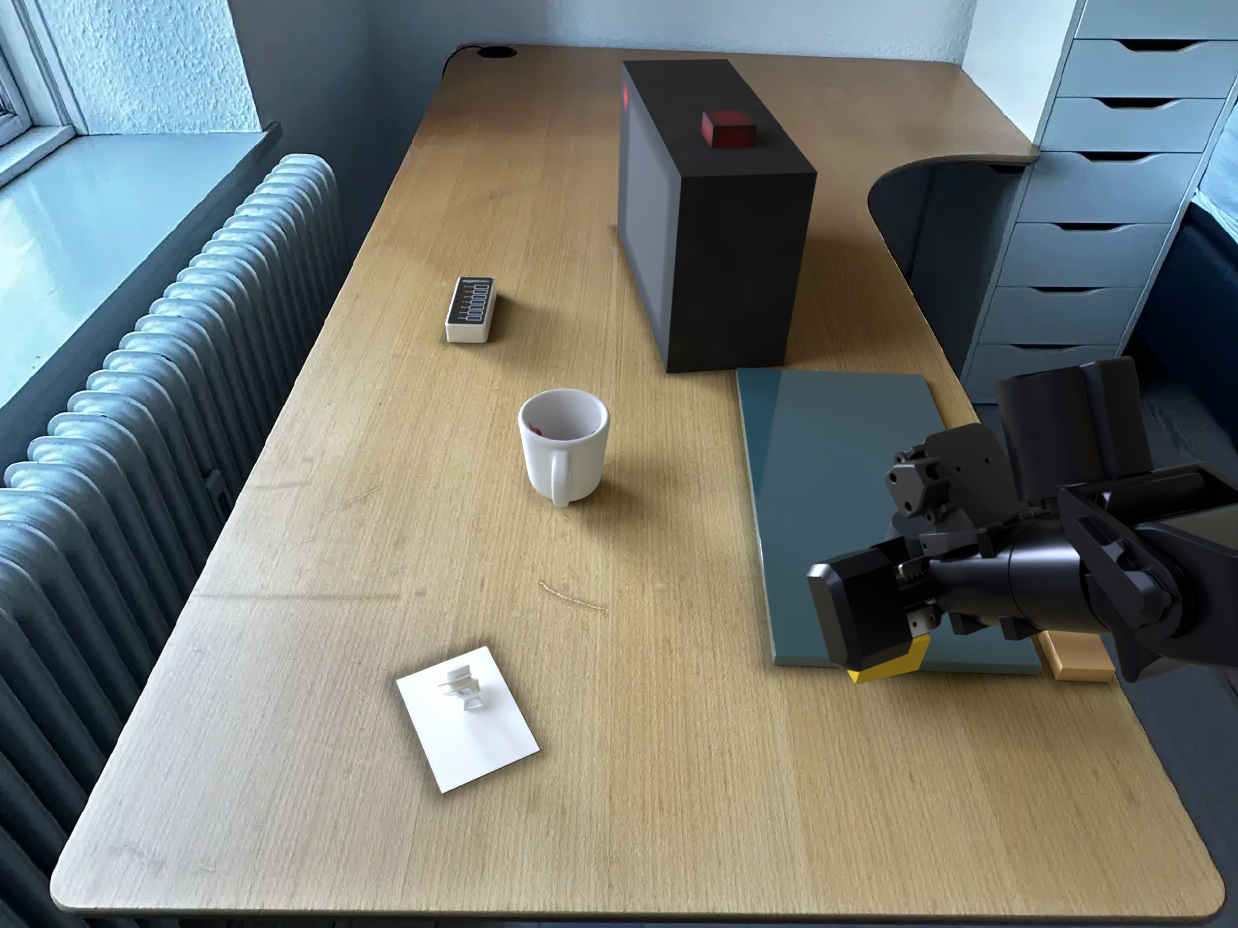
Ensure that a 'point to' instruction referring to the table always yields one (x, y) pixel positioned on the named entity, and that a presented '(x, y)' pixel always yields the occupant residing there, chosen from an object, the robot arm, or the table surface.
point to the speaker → (710, 213)
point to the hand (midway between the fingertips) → (879, 573)
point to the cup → (564, 443)
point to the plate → (839, 499)
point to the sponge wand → (919, 645)
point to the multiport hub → (471, 310)
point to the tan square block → (1077, 656)
